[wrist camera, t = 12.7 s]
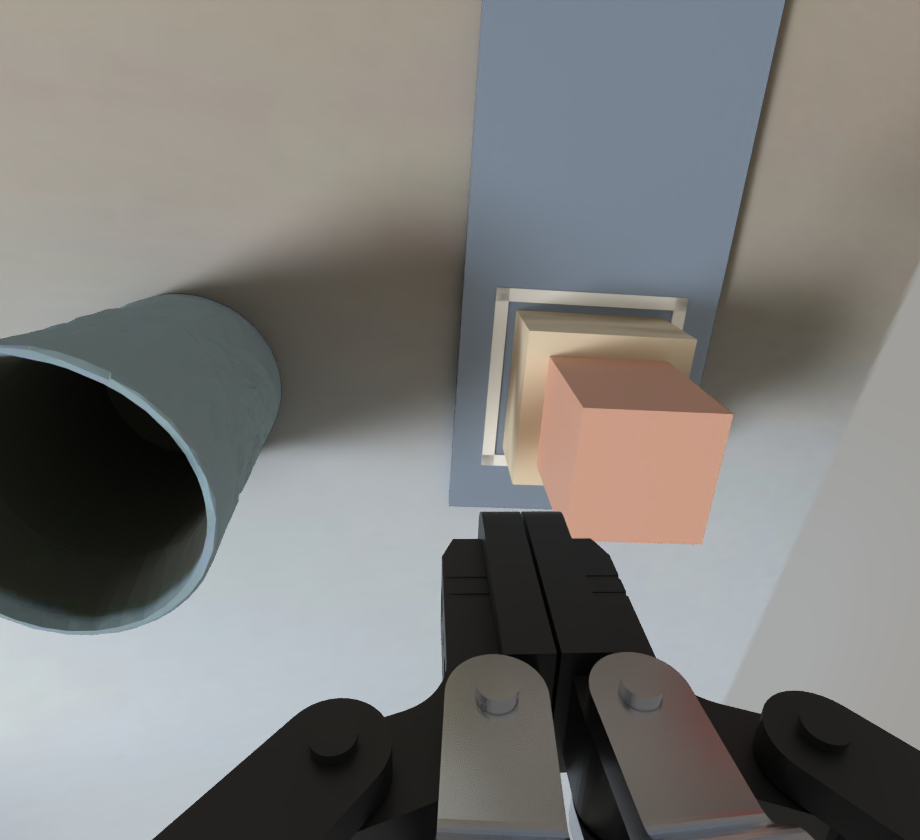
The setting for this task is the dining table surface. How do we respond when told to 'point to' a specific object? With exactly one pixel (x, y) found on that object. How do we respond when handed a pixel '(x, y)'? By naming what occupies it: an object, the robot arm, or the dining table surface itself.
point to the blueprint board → (598, 185)
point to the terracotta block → (630, 450)
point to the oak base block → (574, 339)
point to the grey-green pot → (125, 458)
